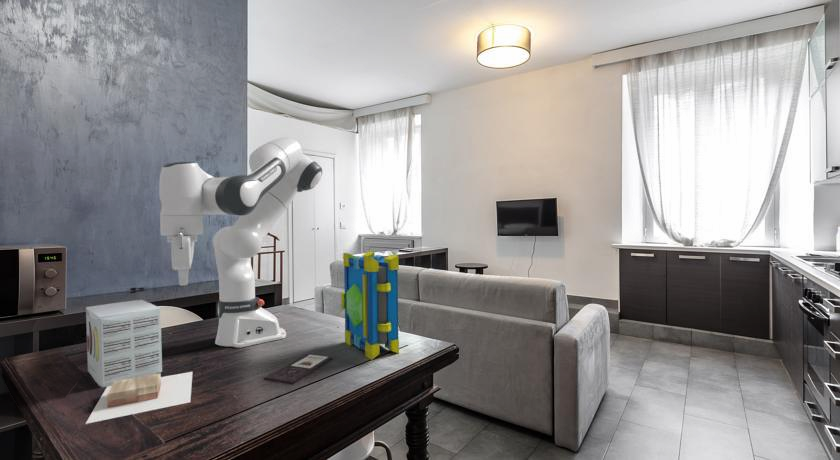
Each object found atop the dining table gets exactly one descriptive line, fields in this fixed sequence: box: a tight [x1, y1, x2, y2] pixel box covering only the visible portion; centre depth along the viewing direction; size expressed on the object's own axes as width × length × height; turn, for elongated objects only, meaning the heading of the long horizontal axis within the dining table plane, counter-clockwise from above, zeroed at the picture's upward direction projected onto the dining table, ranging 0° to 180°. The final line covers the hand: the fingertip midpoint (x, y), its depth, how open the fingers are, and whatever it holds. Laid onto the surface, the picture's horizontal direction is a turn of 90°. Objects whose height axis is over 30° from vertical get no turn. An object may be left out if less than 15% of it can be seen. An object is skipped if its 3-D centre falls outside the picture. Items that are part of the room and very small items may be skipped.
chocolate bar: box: [263, 354, 333, 385], centre depth 106 cm, size 9×1×18 cm
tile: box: [107, 372, 162, 408], centre depth 89 cm, size 3×8×9 cm
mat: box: [85, 371, 193, 425], centre depth 90 cm, size 18×20×1 cm
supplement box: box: [85, 299, 163, 388], centre depth 104 cm, size 17×13×18 cm
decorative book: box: [340, 250, 400, 361], centre depth 122 cm, size 14×23×30 cm, turn 33°
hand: (183, 284), depth 94 cm, fingers closed
